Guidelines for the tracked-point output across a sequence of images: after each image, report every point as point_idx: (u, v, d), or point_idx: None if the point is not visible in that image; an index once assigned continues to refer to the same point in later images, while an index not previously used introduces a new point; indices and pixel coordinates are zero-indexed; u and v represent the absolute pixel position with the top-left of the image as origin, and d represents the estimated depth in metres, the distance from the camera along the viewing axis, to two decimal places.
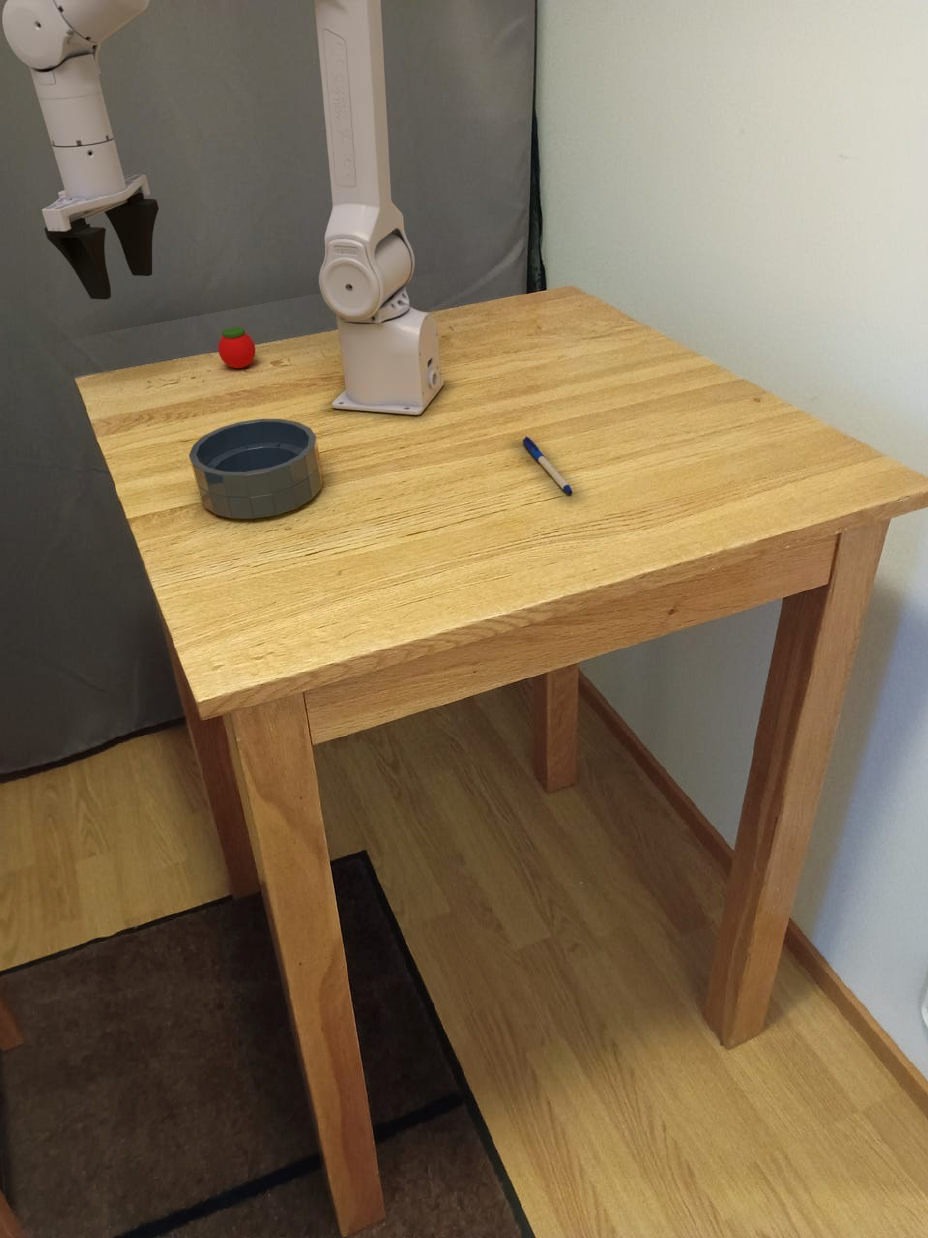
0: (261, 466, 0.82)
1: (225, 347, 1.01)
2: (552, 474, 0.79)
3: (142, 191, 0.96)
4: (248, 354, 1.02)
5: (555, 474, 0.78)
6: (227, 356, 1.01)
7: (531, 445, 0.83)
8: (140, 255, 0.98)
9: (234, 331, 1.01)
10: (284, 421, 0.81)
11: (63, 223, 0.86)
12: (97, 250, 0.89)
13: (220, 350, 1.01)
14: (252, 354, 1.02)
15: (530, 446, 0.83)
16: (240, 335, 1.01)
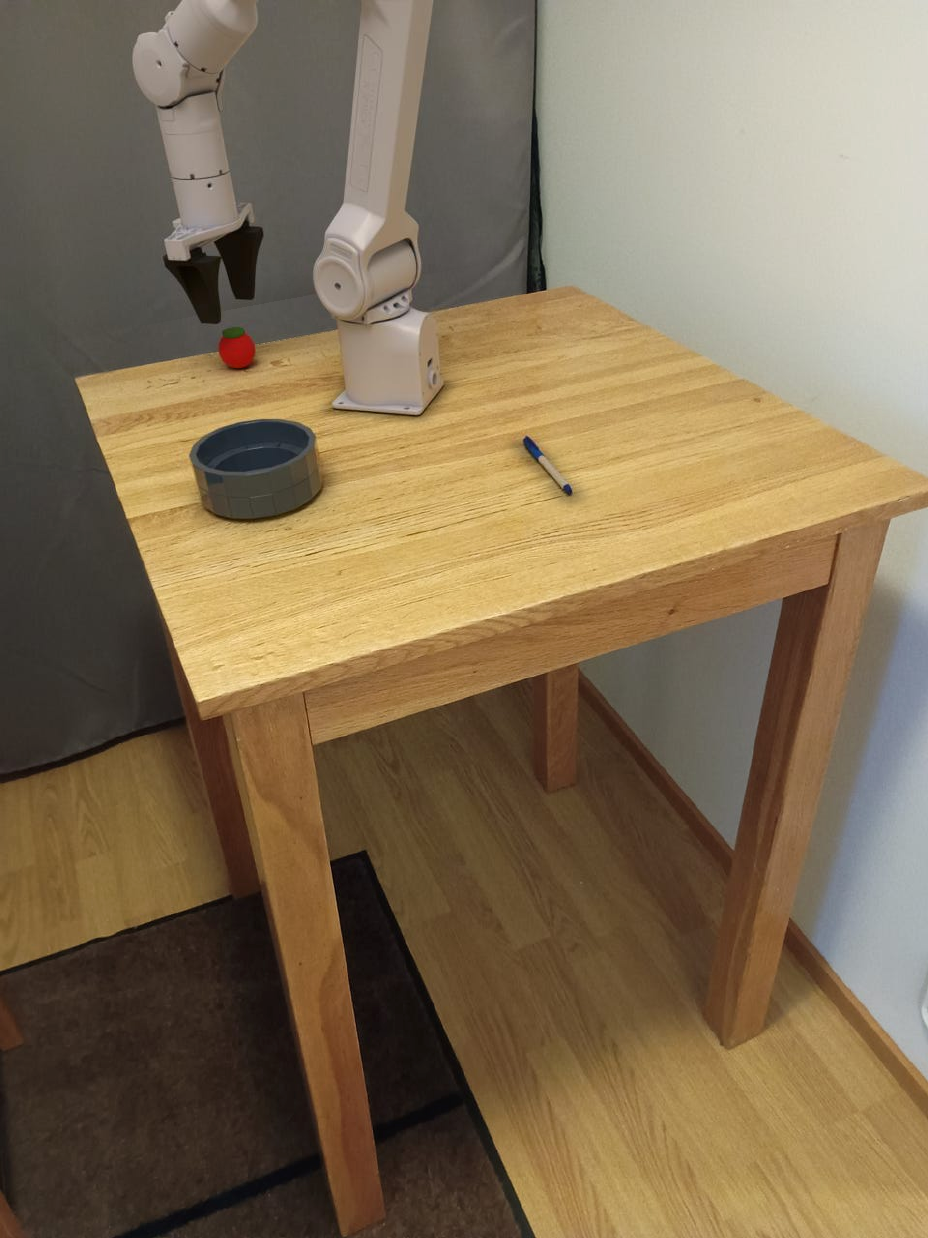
0: (261, 466, 0.82)
1: (225, 347, 1.01)
2: (552, 473, 0.79)
3: (248, 219, 1.00)
4: (248, 354, 1.02)
5: (555, 473, 0.78)
6: (227, 356, 1.01)
7: (531, 444, 0.83)
8: (244, 280, 1.01)
9: (234, 331, 1.01)
10: (284, 421, 0.81)
11: (184, 253, 0.90)
12: (212, 278, 0.93)
13: (220, 350, 1.01)
14: (252, 354, 1.02)
15: (530, 445, 0.83)
16: (240, 335, 1.01)
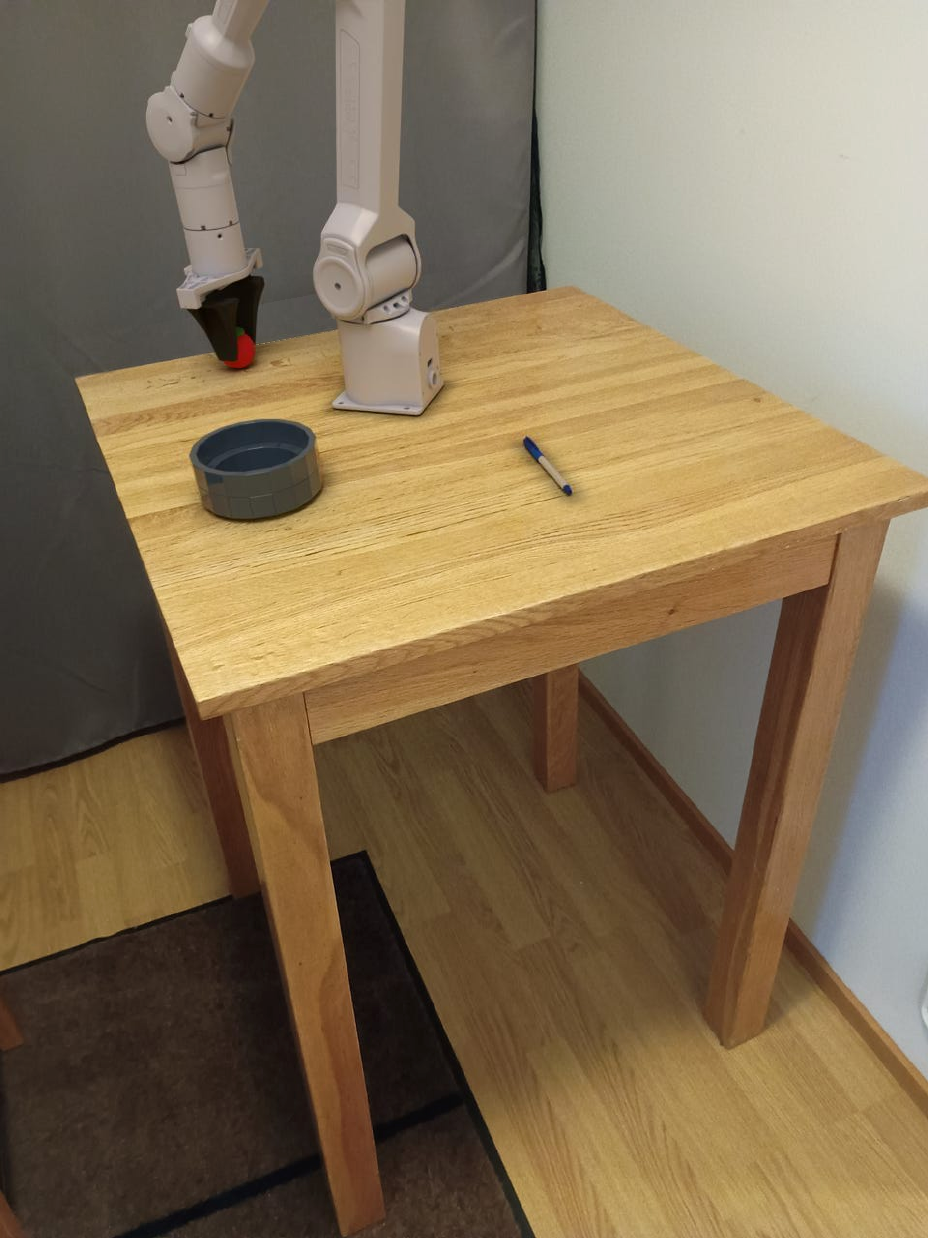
0: (261, 466, 0.82)
1: None
2: (552, 474, 0.79)
3: (256, 264, 1.03)
4: (248, 354, 1.02)
5: (555, 474, 0.78)
6: None
7: (531, 445, 0.83)
8: (245, 328, 1.03)
9: None
10: (284, 421, 0.81)
11: (196, 302, 0.92)
12: (231, 318, 0.97)
13: None
14: (252, 354, 1.02)
15: (530, 446, 0.83)
16: (240, 335, 1.01)
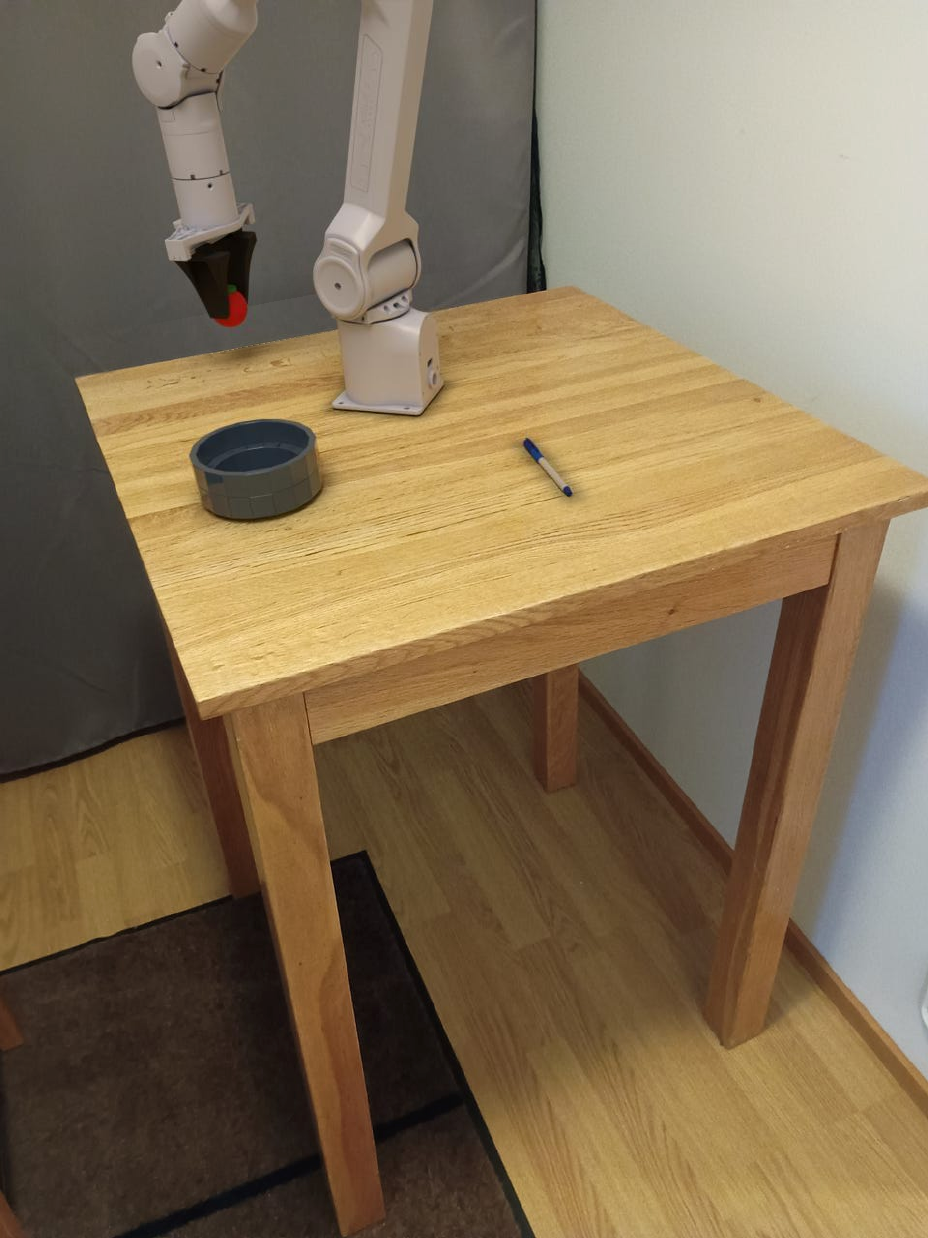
0: (261, 466, 0.82)
1: None
2: (552, 475, 0.79)
3: (249, 219, 1.00)
4: (240, 312, 0.99)
5: (555, 475, 0.78)
6: None
7: (531, 446, 0.83)
8: (237, 286, 1.00)
9: None
10: (284, 421, 0.81)
11: (185, 253, 0.89)
12: (221, 273, 0.94)
13: None
14: (244, 312, 0.99)
15: (530, 447, 0.83)
16: (231, 292, 0.98)
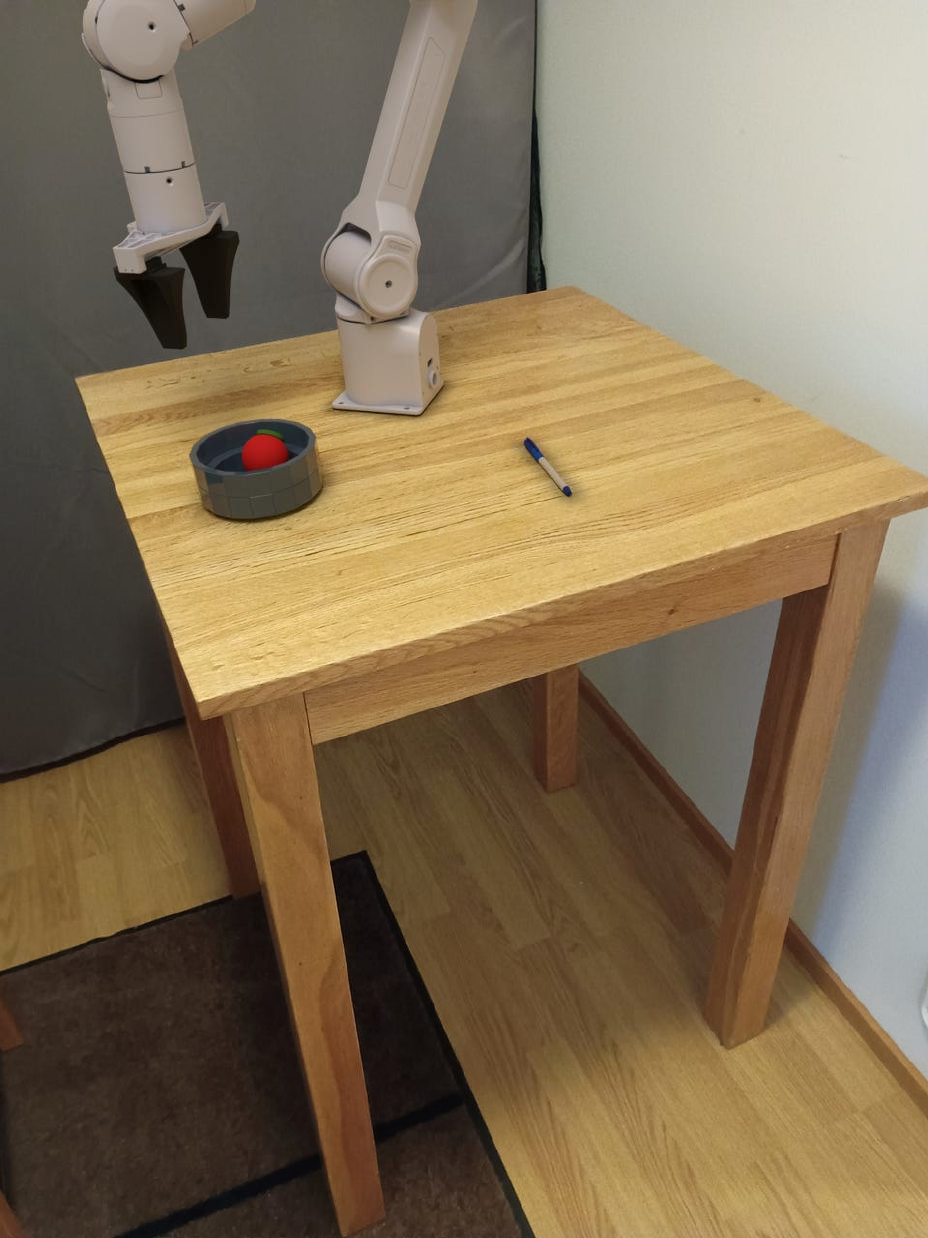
0: None
1: (255, 439, 0.78)
2: (552, 475, 0.79)
3: (221, 222, 0.83)
4: (280, 458, 0.78)
5: (555, 475, 0.78)
6: (253, 449, 0.78)
7: (532, 446, 0.83)
8: (217, 295, 0.84)
9: None
10: (284, 421, 0.81)
11: (138, 264, 0.72)
12: (175, 294, 0.76)
13: (247, 444, 0.79)
14: None
15: (531, 447, 0.83)
16: (279, 436, 0.79)
